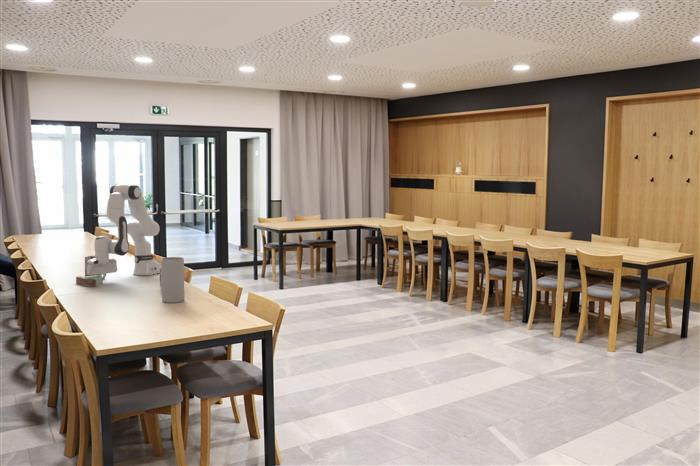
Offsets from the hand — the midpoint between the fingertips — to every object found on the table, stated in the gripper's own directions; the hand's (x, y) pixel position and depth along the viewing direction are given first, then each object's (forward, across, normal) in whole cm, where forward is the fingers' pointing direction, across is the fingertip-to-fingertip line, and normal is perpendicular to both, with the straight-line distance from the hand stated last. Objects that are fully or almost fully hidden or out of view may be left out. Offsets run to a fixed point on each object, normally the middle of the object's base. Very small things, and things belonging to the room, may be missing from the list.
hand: (102, 280), depth 405 cm
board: (+2, +12, 0) cm, 12 cm away
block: (+2, +6, 0) cm, 6 cm away
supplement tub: (+2, -18, +50) cm, 53 cm away
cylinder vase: (+2, +3, +83) cm, 83 cm away
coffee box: (+2, -2, -17) cm, 17 cm away
